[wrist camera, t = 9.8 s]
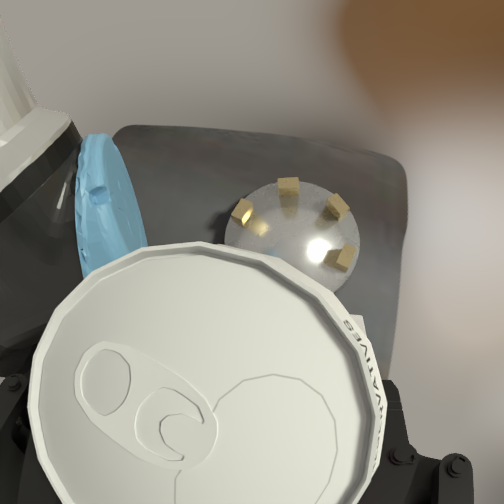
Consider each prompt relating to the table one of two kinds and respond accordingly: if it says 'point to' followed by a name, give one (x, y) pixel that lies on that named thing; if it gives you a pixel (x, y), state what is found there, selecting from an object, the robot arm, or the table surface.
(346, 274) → the ring plate
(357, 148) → the table surface
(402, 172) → the table surface
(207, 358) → the supplement can
